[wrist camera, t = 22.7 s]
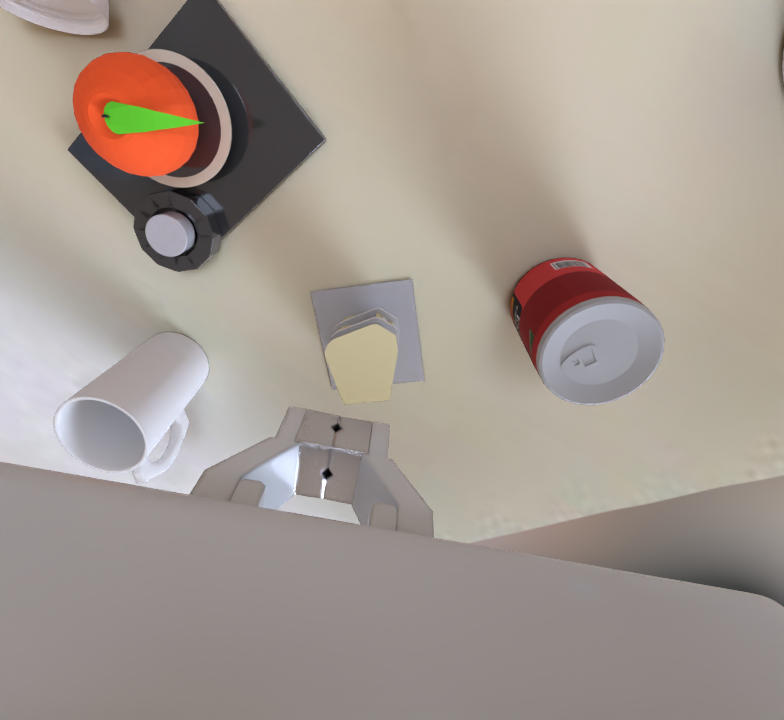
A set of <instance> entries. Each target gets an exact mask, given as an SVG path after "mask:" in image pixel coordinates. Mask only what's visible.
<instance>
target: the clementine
mask: <svg viewBox="0 0 784 720" xmlns="http://www.w3.org/2000/svg"><path fill="white" fill-rule="evenodd" d="M73 107H74V115H75V117H76V120H77V123H78V126H79V129H80V131H81V132H82V134H83V136H84V138H85V139H86V141H87V143H88V144H89V145H90V146H91V147H92V148H93V150H94V151H95V152H96V153H97V154H98V155H99V156H101V157H102V158H103V159H105V160H106V161H107V162H108V163H110V164H111V165H113V166H115V167H116V168H119V169H121V170H123V171H125V172H127V173H130V174H135V175H140V176H148V177H152V176H163V175H165V174H168V173H170V172H173V171H175V170H177V169H179V168H180V167H181V166H182V165H183V164H185V163H186V162H187V161H188V160H189V158H190V157H191V155H192V153H193V152H194V150H195V147H196V143H197V139H198V124H201V123H203V122H199V121H198V117H197V113H196V109H195V105H194V103H193V101H192V99H191V97H190V95H189V93H188V91H187V89H186V88H185V87H184V85H183V84H182V83H181V81H180V80H179V79H178V77H176V76H175V75H174V74H173V73H172V72H171V71H169V70H168V69H167V68H166V67H165V66H163V65H161V64H159V63H157V62H155V61H154V60H152V59H150V58H148V57H146V56H144V55H140V54H135V53H130V52H118V53H108V54H104V55H102V56H100V57H98V58H96V59H94V60H93V61H91V62H90V63H89V64H88V65H87V66H86V67H85V68H84V70H83V71H82V72H81V73H80V74H79V76H78V79H77V81H76V83H75V85H74V93H73Z"/></svg>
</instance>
